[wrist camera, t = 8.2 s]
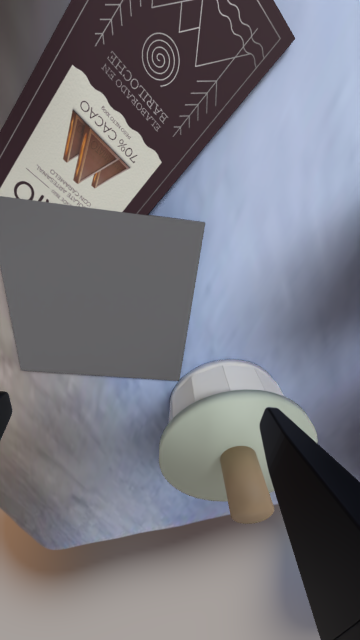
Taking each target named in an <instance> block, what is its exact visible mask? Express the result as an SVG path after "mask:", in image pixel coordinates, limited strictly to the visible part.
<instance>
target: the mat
mask: <svg viewBox="0 0 360 640" xmlns="http://www.w3.org/2000/svg"><path fill="white" fill-rule="evenodd" d="M204 227H205V223H204V222H199V221H192V220H184V219H177V218H169V217H162V216H154V215H140V214H132V213H125V212H117V211H110V210H102V209H94V208H87V207H79V206H72V205H64V204H57V203H49V202H41V201H34V200H26V199H19V198H11V197H3V196H0V266H1V272H2V277H3V282H4V287H5V292H6V297H7V302H8V307H9V312H10V317H11V322H12V327H13V332H14V337H15V342H16V347H17V352H18V357H19V362H20V367H21V370H24V371H39V372H54V373H69V374H84V375H98V376H113V377H128V378H143V379H158V380H173V381H179V379H180V373H181V367H182V361H183V355H184V349H185V343H186V336H187V330H188V324H189V318H190V312H191V306H192V300H193V294H194V288H195V282H196V276H197V270H198V264H199V258H200V251H201V245H202V239H203V233H204Z"/></svg>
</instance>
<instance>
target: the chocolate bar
mask: <svg viewBox="0 0 360 640" xmlns="http://www.w3.org/2000/svg"><path fill="white" fill-rule="evenodd" d="M294 40H295V37H294V35H293V34H292V32H291V30H290V28H289V27H288V25H287V23H286V21H285V20H284V18H283V16H282V14H281V13H280V11H279V9H278V7H277V6H276V4H275V2H274V0H71V2H70V4H69V6H68V7H67V9H66V11H65V13H64V15H63V17H62V19H61V20H60V22H59V24H58V26H57V28H56V30H55V32H54V33H53V35H52V37H51V39H50V41H49V43H48V45H47V46H46V48H45V50H44V52H43V54H42V56H41V57H40V59H39V61H38V63H37V65H36V67H35V69H34V70H33V72H32V74H31V76H30V78H29V80H28V82H27V83H26V85H25V87H24V89H23V91H22V93H21V95H20V96H19V98H18V100H17V102H16V104H15V106H14V108H13V109H12V111H11V113H10V115H9V117H8V119H7V120H6V122H5V124H4V126H3V128H2V130H1V132H0V196H3V197H11V198H19V199H26V200H34V201H41V202H49V203H57V204H64V205H72V206H79V207H87V208H94V209H102V210H110V211H117V212H125V213H132V214H140V215H148V214H149V213H150V211H151V210H152V209H153V208H154V207H155V205H156V204H157V203H158V202H159V201H160V199H161V198H162V197H163V196H164V195H165V193H166V192H167V191H168V190H169V189H170V187H171V186H172V185H173V184H174V183H175V181H176V180H177V179H178V178H179V177H180V176H181V174H182V173H183V172H184V171H185V170H186V168H187V167H188V166H189V165H190V164H191V162H192V161H193V160H194V159H195V158H196V156H197V155H198V154H199V153H200V152H201V150H202V149H203V148H204V147H205V146H206V144H207V143H208V142H209V141H210V140H211V139H212V137H213V136H214V135H215V134H216V133H217V131H218V130H219V129H220V128H221V127H222V125H223V124H224V123H225V122H226V121H227V119H228V118H229V117H230V116H231V115H232V113H233V112H234V111H235V110H236V109H237V108H238V106H239V105H240V104H241V103H242V102H243V100H244V99H245V98H246V97H247V96H248V94H249V93H250V92H251V91H252V90H253V88H254V87H255V86H256V85H257V84H258V82H259V81H260V80H261V79H262V78H263V76H264V75H265V74H266V73H267V72H268V71H269V69H270V68H271V67H272V66H273V65H274V63H275V62H276V61H277V60H278V59H279V57H280V56H281V55H282V54H283V53H284V51H285V50H286V49H287V48H288V47H289V45H290V44H291V43H292V42H293V41H294Z"/></svg>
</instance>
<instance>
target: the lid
mask: <svg viewBox="0 0 360 640" xmlns="http://www.w3.org/2000/svg"><path fill="white" fill-rule="evenodd" d="M267 407H275V408H278V409H280V410H281V411H282V412H283V413H284V414H285V415H286V416H287V417H288V418H290V419H291V420H292V421H293V422H294V423H295V424H296V425H297V426H298V427H299V428H301V429H302V430H303V431H304V432H305V433H306V434H307V435H308V436H309V437H311V438H312V439H313V440H314V441H315V442H316V443H317V442H318V440H317V433H316V431H315V428H314V426H313V424H312V423H311V421H310V420H309V418H308V416H307V415H306V413H305V411H304V410H303V409H302V408H301V407H300V406H299V405H298V404H296V403H295V402H294V401H292V400H290V399H288V398H286V397H285V396H282V395H279V394H276V393H273V392H268V391H262V390H232V391H227V392H221V393H218V394H214V395H211V396H208V397H205V398H203V399H200V400H198V401H196V402H194V403H193V404H191V405H189V406H188V407H186V408H185V409H183V410H182V411H180V412H179V413H178V414H177V415H176V416H175V417H174V418H173V419H172V420H171V421H170V422H169V423H168V425H167V426H166V428H165V429H164V431H163V434H162V436H161V439H160V443H159V465H160V469H161V472H162V474H163V476H164V477H165V479H166V480H167V481H168V482H169V483H170V484H171V485H172V486H173V487H175V488H176V489H178V490H179V491H181V492H183V493H185V494H187V495H189V496H193V497H196V498H200V499H204V500H211V501H228V504H229V509H230V514H231V518H232V519H233V520H234V521H236V522H238V523H243V524H252V523H257V522H261V521H263V520H266V519H267V518H269V517H270V516H271V515H272V514H273V512H274V506H273V503H272V500H271V497H270V494H269V493H271V492H273V491H274V488H273V484H272V481H271V478H270V474H269V471H268V467H267V462H266V457H265V452H264V447H263V443H262V438H261V433H260V421H261V418H262V415H263V413H264V410H265V408H267Z"/></svg>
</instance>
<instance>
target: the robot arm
mask: <svg viewBox="0 0 360 640" xmlns="http://www.w3.org/2000/svg"><path fill="white" fill-rule="evenodd" d="M11 414H12V407H11V402H10V398H9V394H8V393H7V392H4V391H0V440H1V438H2V435H3V433H4V431H5V429H6V426H7V424H8V422H9V420H10V417H11ZM260 433H261V438H262V443H263V447H264V452H265V457H266V462H267V467H268V471H269V474H270V478H271V481H272V484H273V488H274V491H275V494H276V497H277V500H278V504H279V506H280V510H281V513H282V516H283V520H284V523H285V526H286V529H287V533H288V536H289V539H290V542H291V545H292V549H293V552H294V555H295V558H296V561H297V565H298V568H299V571H300V574H301V577H302V581H303V584H304V587H305V590H306V593H307V597H308V600H309V603H310V606H311V610H312V613H313V616H314V619H315V622H316V625H317V629H318V632H319V635H320V638H321V640H360V482H359V481H358V480H357V479H356V478H355V477H353V476H352V475H351V474H350V473H349V472H348V471H347V470H346V469H345V468H344V467H342V466H341V465H340V464H339V463H338V462H337V461H336V460H335V459H334V458H333V457H331V456H330V455H329V454H328V453H327V452H326V451H325V450H324V449H323V448H322V447H320V446H319V445H318V444H317V443H316V442H315V441H314V440H313V439H312V438H311V437H309V436H308V435H307V434H306V433H305V432H304V431H303V430H302V429H301V428H299V427H298V426H297V425H296V424H295V423H294V422H293V421H292V420H291V419H290V418H288V417H287V416H286V415H285V414H284V413H283V412H282V411H281V410H280V409H278V408H275V407H267V408H265V410H264V413H263V415H262V418H261V421H260Z"/></svg>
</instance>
